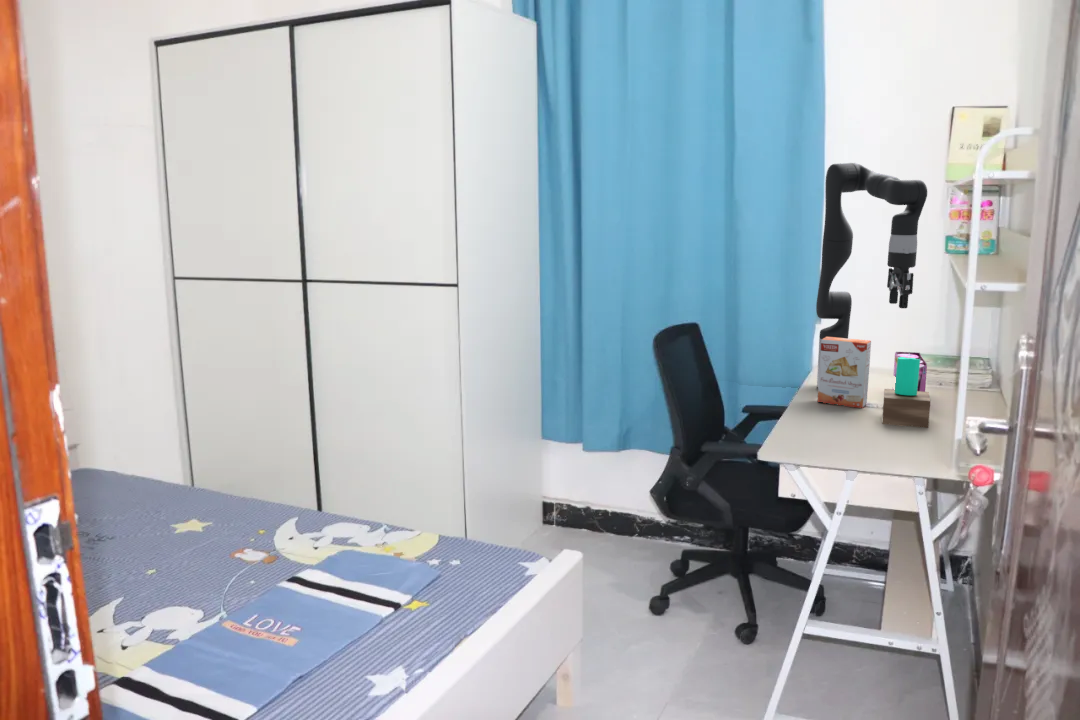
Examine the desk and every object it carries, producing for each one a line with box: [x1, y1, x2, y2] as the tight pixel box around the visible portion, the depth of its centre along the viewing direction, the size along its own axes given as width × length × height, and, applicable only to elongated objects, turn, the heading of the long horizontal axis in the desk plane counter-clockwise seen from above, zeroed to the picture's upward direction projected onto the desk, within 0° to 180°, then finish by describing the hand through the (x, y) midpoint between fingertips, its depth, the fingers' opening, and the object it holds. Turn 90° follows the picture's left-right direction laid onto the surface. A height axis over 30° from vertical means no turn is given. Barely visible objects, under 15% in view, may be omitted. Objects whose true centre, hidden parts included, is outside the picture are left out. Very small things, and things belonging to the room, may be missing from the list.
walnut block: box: [882, 388, 931, 429], centre depth 241 cm, size 12×12×8 cm
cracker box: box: [817, 337, 872, 409], centre depth 260 cm, size 14×6×21 cm, turn 56°
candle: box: [895, 353, 920, 396], centre depth 240 cm, size 6×6×12 cm
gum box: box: [893, 351, 928, 392], centre depth 266 cm, size 24×8×14 cm, turn 161°
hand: (898, 305), depth 243 cm, fingers open, 8 cm apart
